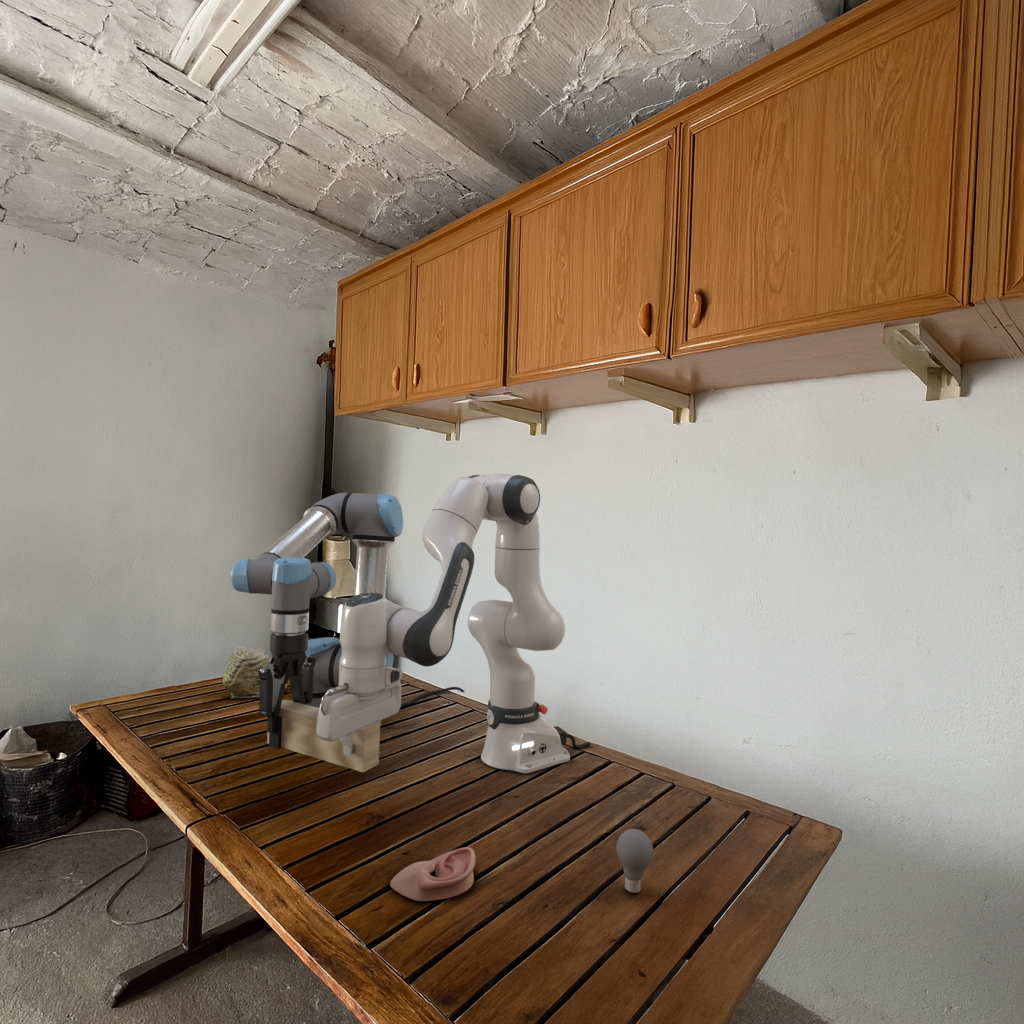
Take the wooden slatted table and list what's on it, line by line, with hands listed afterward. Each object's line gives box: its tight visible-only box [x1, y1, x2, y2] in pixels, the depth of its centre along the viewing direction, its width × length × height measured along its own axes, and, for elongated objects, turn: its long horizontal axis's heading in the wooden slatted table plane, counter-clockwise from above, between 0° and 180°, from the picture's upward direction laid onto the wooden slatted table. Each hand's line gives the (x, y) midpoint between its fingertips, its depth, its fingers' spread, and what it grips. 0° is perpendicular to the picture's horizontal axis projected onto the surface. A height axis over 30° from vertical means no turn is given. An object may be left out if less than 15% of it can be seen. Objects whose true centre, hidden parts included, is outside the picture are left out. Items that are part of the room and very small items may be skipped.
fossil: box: [222, 646, 288, 699], centre depth 198 cm, size 9×18×15 cm, turn 132°
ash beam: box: [266, 699, 381, 773], centre depth 128 cm, size 26×4×8 cm, turn 62°
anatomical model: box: [389, 846, 476, 902], centre depth 106 cm, size 13×4×12 cm
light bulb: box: [615, 828, 654, 894], centre depth 106 cm, size 6×6×10 cm
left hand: (285, 743), depth 132 cm, fingers closed on ash beam, 4 cm apart
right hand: (359, 748), depth 123 cm, fingers closed on ash beam, 4 cm apart
